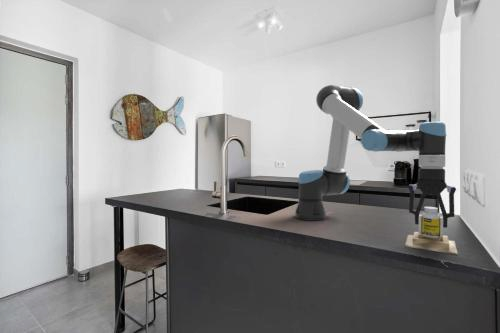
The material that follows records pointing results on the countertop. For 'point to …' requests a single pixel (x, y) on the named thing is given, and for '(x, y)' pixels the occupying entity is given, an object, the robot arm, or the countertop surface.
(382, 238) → the countertop surface
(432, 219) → the supplement bottle
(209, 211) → the countertop surface
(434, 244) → the beige square tray
